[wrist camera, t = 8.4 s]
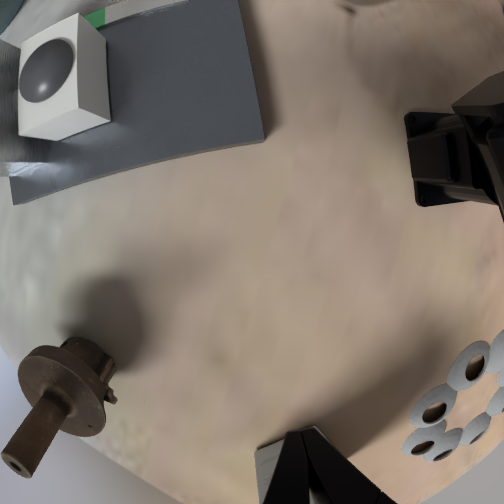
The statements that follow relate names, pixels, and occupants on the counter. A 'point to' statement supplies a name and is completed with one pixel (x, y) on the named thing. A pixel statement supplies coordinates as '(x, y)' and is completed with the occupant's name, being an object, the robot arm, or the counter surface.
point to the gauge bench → (143, 96)
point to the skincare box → (268, 466)
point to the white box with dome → (62, 81)
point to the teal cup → (8, 12)
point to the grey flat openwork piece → (496, 359)
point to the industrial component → (59, 399)
